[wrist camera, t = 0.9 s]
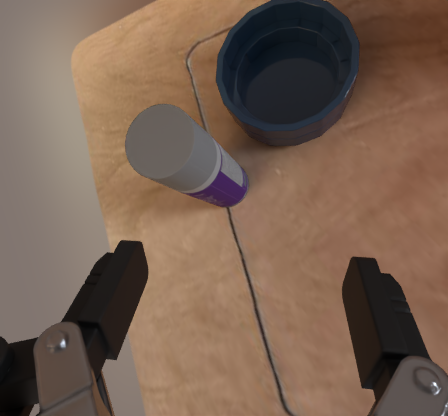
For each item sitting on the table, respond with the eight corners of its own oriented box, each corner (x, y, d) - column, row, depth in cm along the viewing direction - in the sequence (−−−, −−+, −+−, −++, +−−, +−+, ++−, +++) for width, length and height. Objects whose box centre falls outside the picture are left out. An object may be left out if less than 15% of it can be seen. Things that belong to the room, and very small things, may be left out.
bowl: (325, 12, 32) (327, -29, 27) (371, 118, 29) (383, 94, 25) (216, 64, 34) (200, 35, 29) (250, 165, 32) (240, 152, 27)
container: (211, 213, 33) (132, 191, 18) (200, 171, 33) (115, 119, 19) (254, 199, 32) (206, 165, 17) (241, 156, 32) (185, 88, 18)
